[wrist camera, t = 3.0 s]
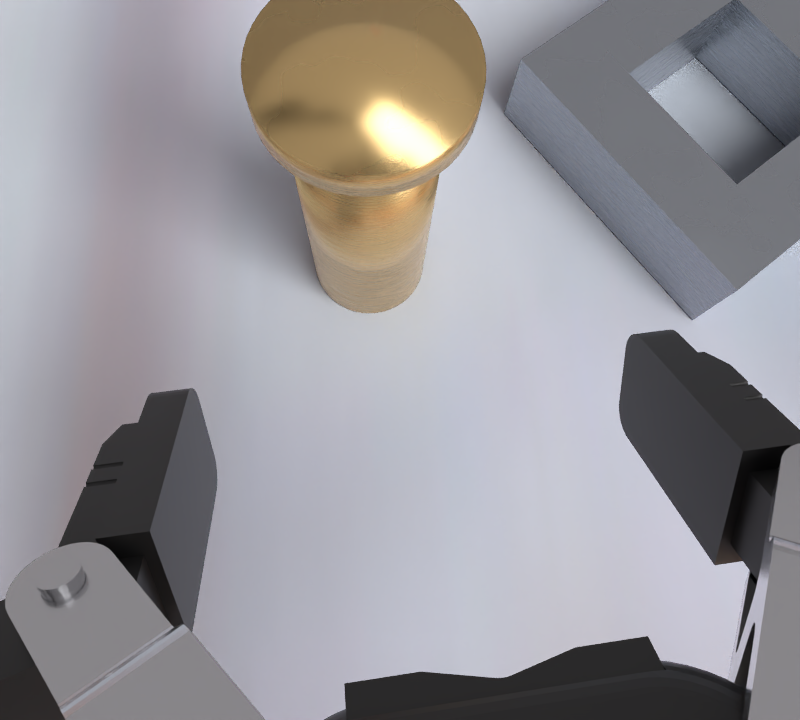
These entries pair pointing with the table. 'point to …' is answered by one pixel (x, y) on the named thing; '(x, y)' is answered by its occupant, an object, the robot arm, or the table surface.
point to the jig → (671, 134)
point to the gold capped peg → (365, 127)
